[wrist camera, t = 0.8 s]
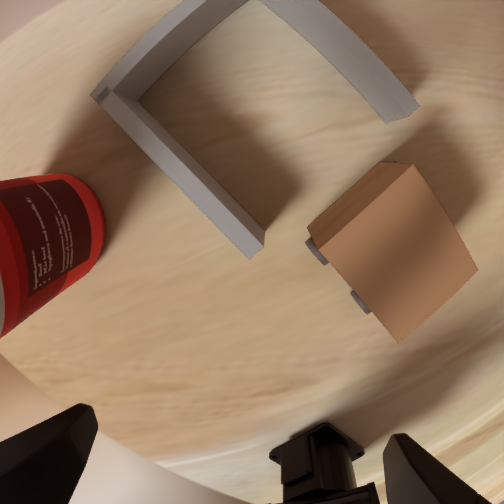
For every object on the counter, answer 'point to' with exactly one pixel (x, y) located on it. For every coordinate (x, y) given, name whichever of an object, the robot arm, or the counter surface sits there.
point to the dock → (184, 37)
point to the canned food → (44, 241)
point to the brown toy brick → (393, 247)
